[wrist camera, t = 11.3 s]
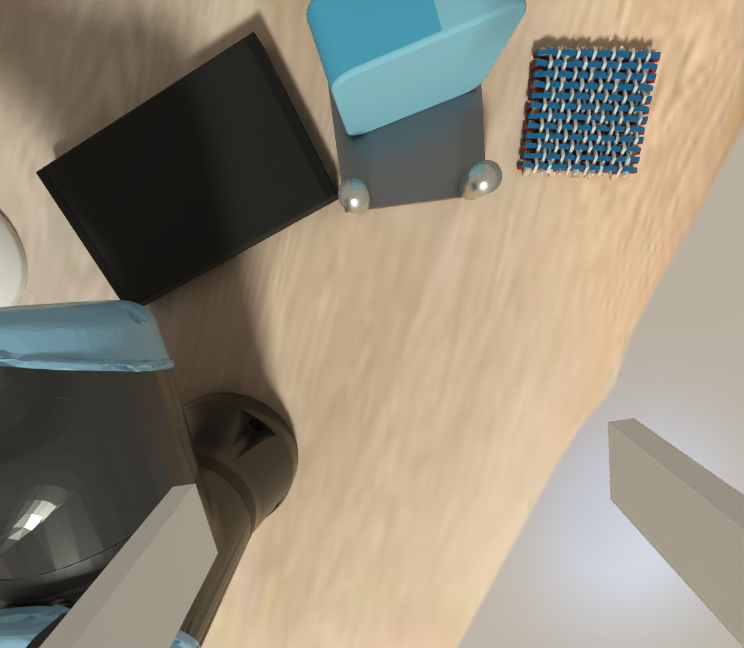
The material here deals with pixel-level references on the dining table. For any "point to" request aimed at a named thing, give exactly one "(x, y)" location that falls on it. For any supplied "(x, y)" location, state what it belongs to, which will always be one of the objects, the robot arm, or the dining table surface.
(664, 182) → the dining table surface
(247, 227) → the external hard drive
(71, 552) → the robot arm
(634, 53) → the woven mat
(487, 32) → the data package
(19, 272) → the candlestick
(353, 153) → the chassis
